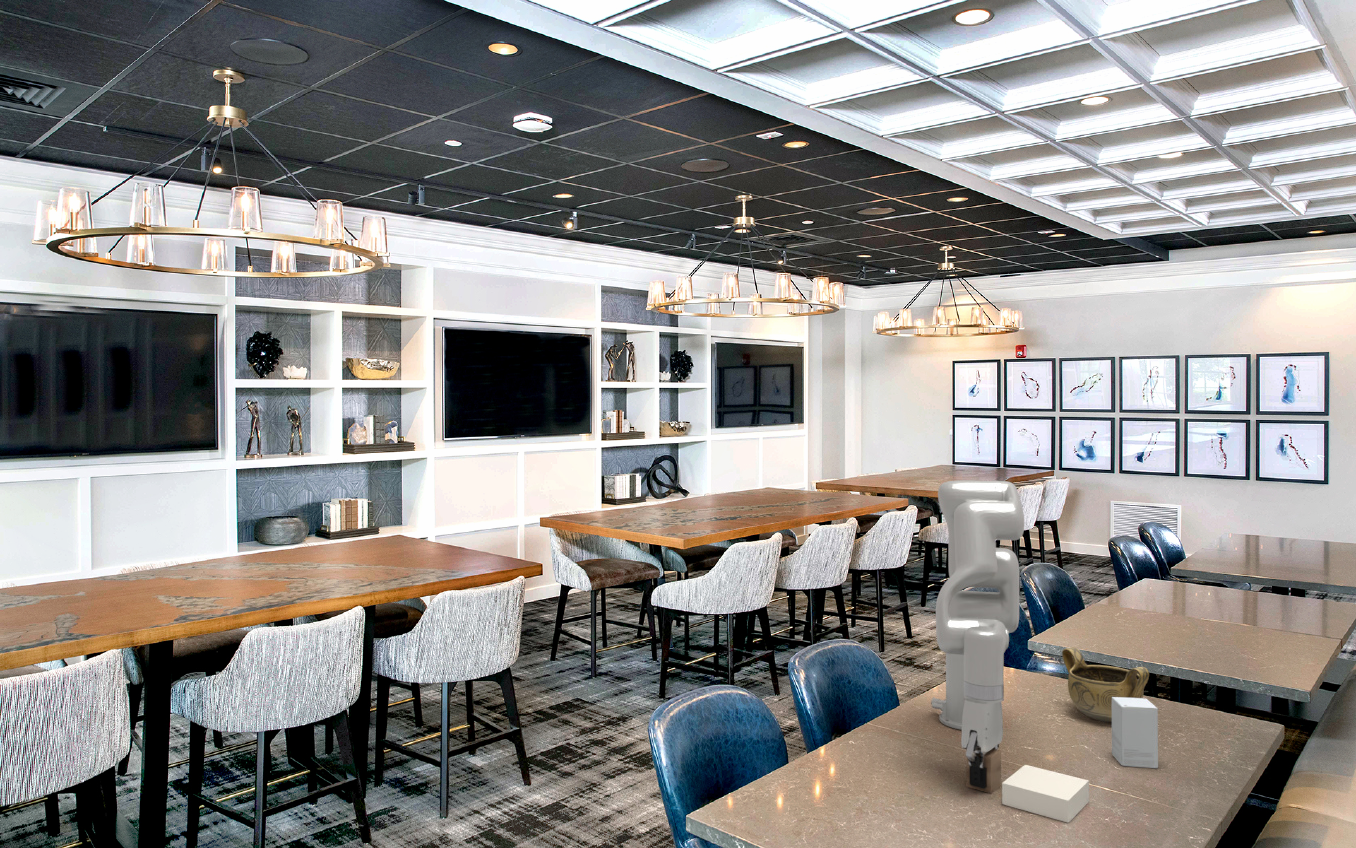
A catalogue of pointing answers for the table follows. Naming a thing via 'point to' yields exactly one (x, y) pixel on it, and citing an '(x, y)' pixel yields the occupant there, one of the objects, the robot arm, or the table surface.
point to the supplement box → (1135, 732)
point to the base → (1046, 793)
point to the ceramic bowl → (1100, 684)
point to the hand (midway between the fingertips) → (983, 781)
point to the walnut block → (988, 770)
